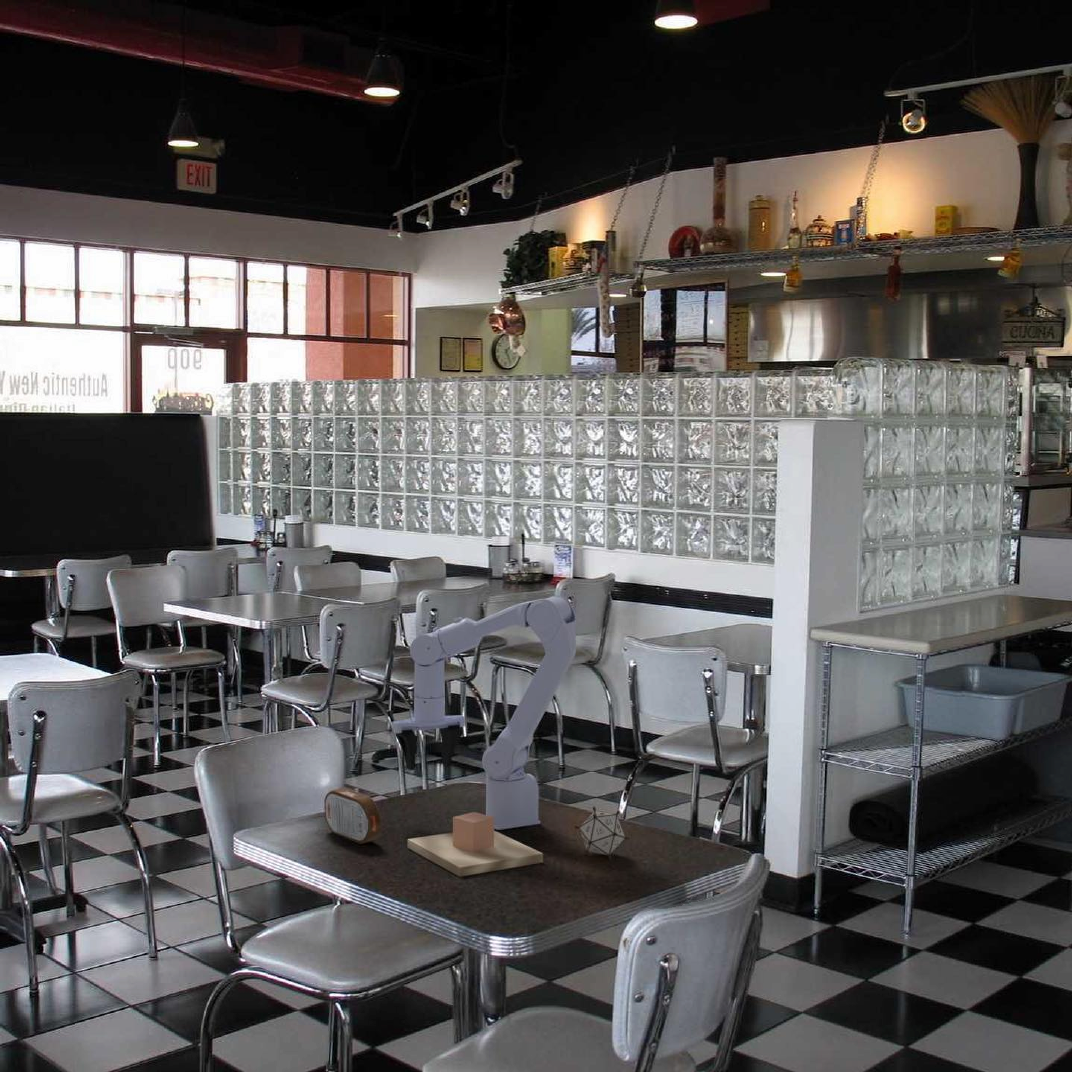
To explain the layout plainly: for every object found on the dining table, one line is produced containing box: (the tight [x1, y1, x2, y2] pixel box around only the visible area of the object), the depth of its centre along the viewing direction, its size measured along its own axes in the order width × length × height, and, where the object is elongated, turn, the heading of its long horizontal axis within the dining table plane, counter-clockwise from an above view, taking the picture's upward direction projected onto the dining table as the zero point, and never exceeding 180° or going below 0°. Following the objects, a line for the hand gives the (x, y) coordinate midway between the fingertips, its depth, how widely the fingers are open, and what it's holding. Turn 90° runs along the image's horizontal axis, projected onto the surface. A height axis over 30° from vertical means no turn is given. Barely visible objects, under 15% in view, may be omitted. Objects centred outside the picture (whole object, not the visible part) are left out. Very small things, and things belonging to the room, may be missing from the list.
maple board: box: [407, 830, 544, 878], centre depth 225 cm, size 16×19×2 cm
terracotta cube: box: [452, 811, 495, 852], centre depth 225 cm, size 5×5×5 cm
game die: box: [573, 805, 631, 861], centre depth 225 cm, size 9×8×10 cm
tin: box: [323, 786, 382, 845], centre depth 234 cm, size 15×3×8 cm, turn 42°
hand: (428, 767), depth 250 cm, fingers open, 7 cm apart
